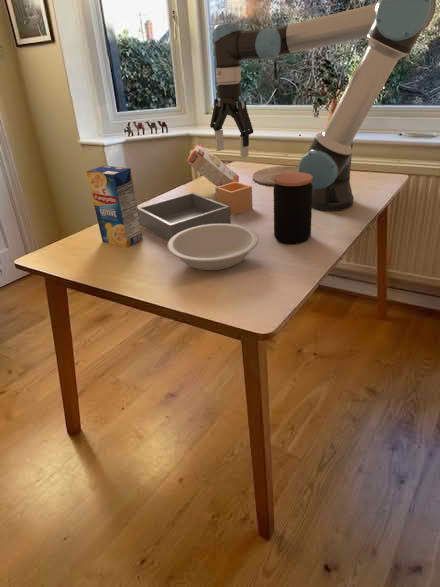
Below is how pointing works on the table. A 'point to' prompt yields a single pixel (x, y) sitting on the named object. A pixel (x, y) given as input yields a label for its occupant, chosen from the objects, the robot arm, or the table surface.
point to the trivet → (271, 174)
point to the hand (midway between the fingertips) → (231, 153)
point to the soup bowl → (213, 245)
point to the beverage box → (115, 205)
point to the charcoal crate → (182, 214)
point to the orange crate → (235, 196)
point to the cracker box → (211, 167)
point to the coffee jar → (292, 207)
